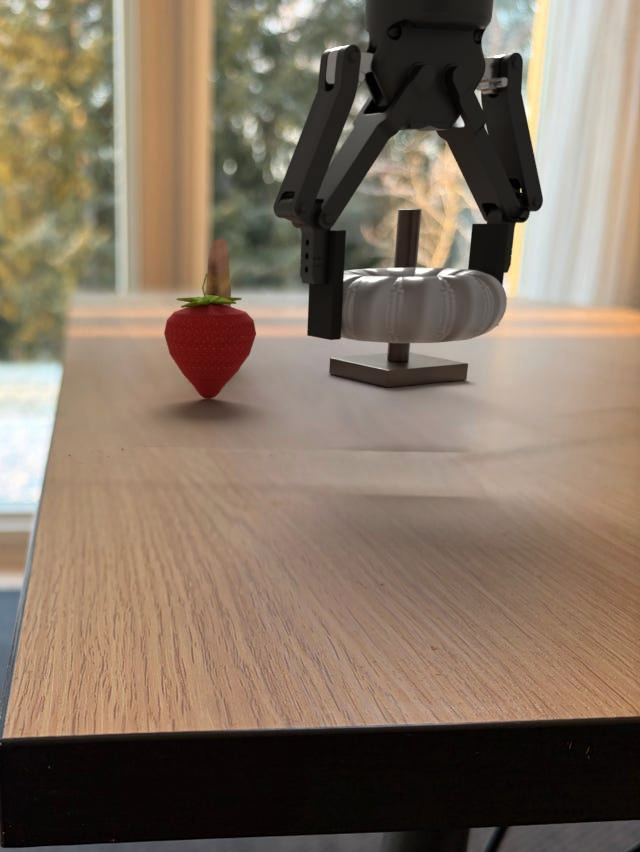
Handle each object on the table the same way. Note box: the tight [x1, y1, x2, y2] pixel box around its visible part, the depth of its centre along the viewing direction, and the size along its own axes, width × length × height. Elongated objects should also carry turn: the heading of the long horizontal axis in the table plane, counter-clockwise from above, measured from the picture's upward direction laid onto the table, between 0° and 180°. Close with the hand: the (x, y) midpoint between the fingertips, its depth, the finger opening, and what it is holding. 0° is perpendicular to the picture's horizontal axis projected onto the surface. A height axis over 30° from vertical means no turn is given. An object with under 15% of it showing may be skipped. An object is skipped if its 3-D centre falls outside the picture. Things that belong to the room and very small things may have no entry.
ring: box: [341, 266, 508, 344], centre depth 70 cm, size 12×12×4 cm
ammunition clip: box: [204, 236, 232, 307], centre depth 100 cm, size 11×2×12 cm, turn 172°
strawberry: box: [163, 272, 257, 400], centre depth 86 cm, size 6×8×10 cm
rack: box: [328, 208, 469, 388], centre depth 96 cm, size 9×9×14 cm
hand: (405, 331), depth 71 cm, fingers closed on ring, 12 cm apart
